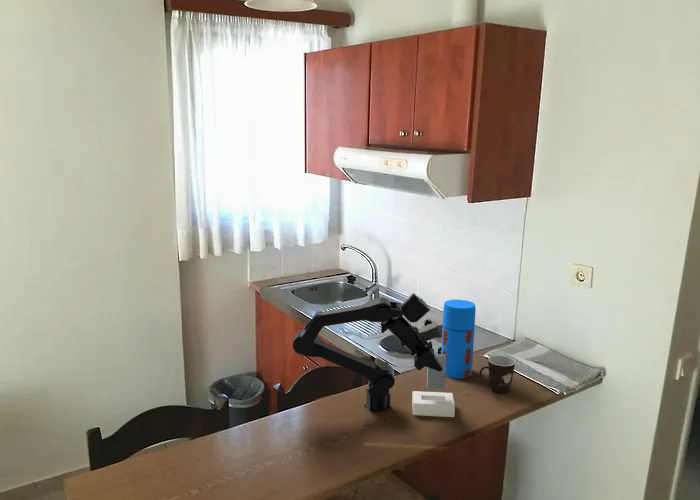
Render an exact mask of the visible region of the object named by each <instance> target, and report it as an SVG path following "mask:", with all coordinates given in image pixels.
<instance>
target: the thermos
mask: <svg viewBox="0 0 700 500" xmlns="http://www.w3.org/2000/svg"><path fill="white" fill-rule="evenodd" d="M442 313H443V315H442V333H441V352H440V354H445V356H446V364H445V377H447V378H453V379H467V378H469V377H471V376H472V371H473V370H472V369H473V361H474V359H473V358H474V344H475V343H474V342H475V324H476V304H475V303H474V302H473V301H470V300H466V299H448V300H445V301H444V304H443V310H442Z"/></svg>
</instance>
